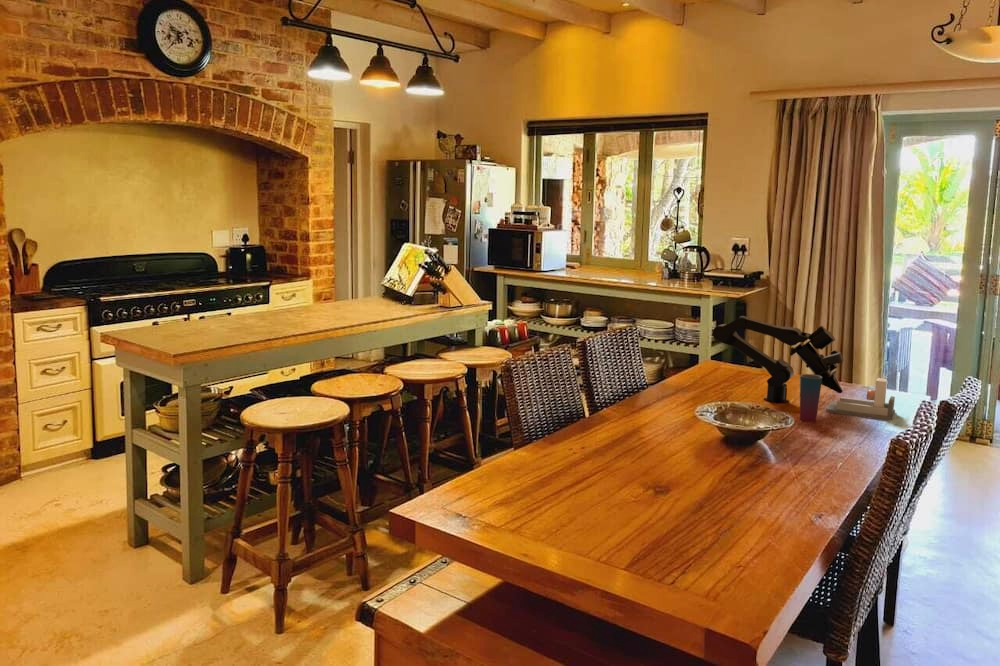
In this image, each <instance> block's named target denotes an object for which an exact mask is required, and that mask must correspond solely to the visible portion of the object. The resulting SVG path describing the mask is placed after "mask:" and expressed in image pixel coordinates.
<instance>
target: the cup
mask: <svg viewBox="0 0 1000 666" xmlns="http://www.w3.org/2000/svg"><path fill="white" fill-rule="evenodd" d="M799 380H800V381H799V420H800V421H802V422H804V423H805V422H806V423H814V422H816V421H817V415H818V409H819V403H820V395H821V390H822V389H821V388H822V384H821V383H822V377H821V376H819V375H814V373H813V374H811V373H804V374H803V373H802V374H800V377H799Z"/></svg>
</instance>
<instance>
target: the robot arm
mask: <svg viewBox="0 0 1000 666" xmlns="http://www.w3.org/2000/svg"><path fill="white" fill-rule="evenodd" d="M741 329H745V330H749V331H752V332H756V333H759V334H763V335H765V336H770V337H772V338H774V339H776V340H778V341H779V342H782V343H783V344H785V345H788V346H791V347H790V354H789V355H790V356H793V355H795V354H797V356H798V357H799V358H800V359H801V361H802V362H803V363H804V364H805V367H806V368H807V369H808V368H809V370H810V371H811V372H812V373H813V375H819V376H821V377H822V383H821V386H824V387H826V388H829V389H830V390H832V391H835V392H836V393H838V394H842V393H843V392H844V391H843V388H842V387H841V385H840V383H839V381H838V379H837V377H836V376H837V371H838V370H835V369H837V368H839V366H838V364H842V363H843V362H844V360H845V359H844V357H843V354H842V352H841V351H837V350H836V349H835V350H834V349H833V350H831V352H830V354H829V355H826V356H824V354H822V353H819V352H818V351H817V350H819V349H820V350H821V351H822V350H824V349H825V348H827V347H829V345H831V344H832V343H833V342H835V341H836V338H835V336H834V335H833V333H831V332H830V331H829V330H828V329H827V328H825V327H824V325H821V326H820V325H819V327H818V328H817V329H816V330H815V331H813V332H812V333H808V332H803V331H802V330H801V329H800V328H798V327H793V326H779V325H775V324H772V323H768V322H763V321H761V320H757V319H753V318H751V317H749V316H748V317H747V316H746V315H741V316H739V317H738V318H736V319H735V320H732V321H731V322H729V323H723V324H719V325H717V326H716V327H714V329H713V331H712V337H713V339H715V341H718V342H719V343H722V344H724V345H727V346H730V347H733V348H735V349H736V350H738V351H739V352H741V353H742V355H745V356H747V357H748V358H749V359H751V360H752V361H754V362H755V363H757V364H759V365H760V366H761V367H763V368H764V369H765V370H766V371H767V373H768V374H769V375H770V377H769V378H768V379H766V382H767V391H766V397H763V400H764V401H768V402H771V403H772V404H773V403H774V404H781V403H788V402H790V400H789V399H787V395H788V394H787V393H788V388H787V386H788V384H786V383H787V382H788V381H789V380H791V379H792V378H793V376H794V374H795V373H794V372H795V371H794V368H793V366H791V363H789V362H787V361H786V360H784V359H783V358H782V357H780V358H779V359H774V358H772V357H771V356H769V355H767V354H766V353H764V352H763V351H762V350H760V349H759V348H757V347H755V346H754V345H752V344H751V343H749V342H748V341H746V340H745V339H744V338H742V337H741V336H740V335H739V334H738V333H737V331H738V330H741ZM807 340H809V341H807ZM806 341H807V342H806ZM793 346H795V347H793ZM834 370H835V371H834Z"/></svg>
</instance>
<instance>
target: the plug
mask: <svg viewBox="0 0 1000 666" xmlns="http://www.w3.org/2000/svg"><path fill="white" fill-rule="evenodd" d="M887 385H888V378H882V377H877V379H875V388H874V389H867V392H866V400H868V401H874V406H877V407H885V403H886V398H887V397H886V395H887V387H888V386H887Z"/></svg>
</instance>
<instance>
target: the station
mask: <svg viewBox="0 0 1000 666" xmlns="http://www.w3.org/2000/svg"><path fill="white" fill-rule="evenodd" d="M895 398H896V397H895V396H892V395H891V396H890V398H889V400H888V402H885V407H877V406H874V400H867V399H859V398H852V397H851V398H850V397H843V396H840V397H839V401H831V402H829V405H828V406H827V407H826V409H825V412H826V413H832V414H840V415H846V416H853V417H861V418H868V419H869V418H870V419H876V420H882V421H883V420H884V421H889V422H892V421H893V419H894V416H895V413H896V410H895V409H894V408H895Z"/></svg>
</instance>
